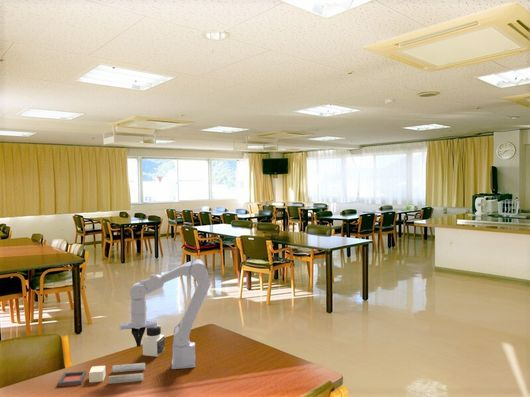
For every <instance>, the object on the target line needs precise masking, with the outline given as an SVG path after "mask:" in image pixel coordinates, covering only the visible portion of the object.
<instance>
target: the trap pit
mask: <svg viewBox="0 0 530 397" xmlns="http://www.w3.org/2000/svg"><path fill="white" fill-rule="evenodd" d="M86 376H87V371H86V370H84V371H83V370H81V371H72V372H71V371H70V372H64V373H63V374H62V375H61V377H60V378H59V381H58V383H57V384H58V385H57V387H68V386H79V385H82V384H83V381H84V379H85V378H86Z"/></svg>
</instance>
